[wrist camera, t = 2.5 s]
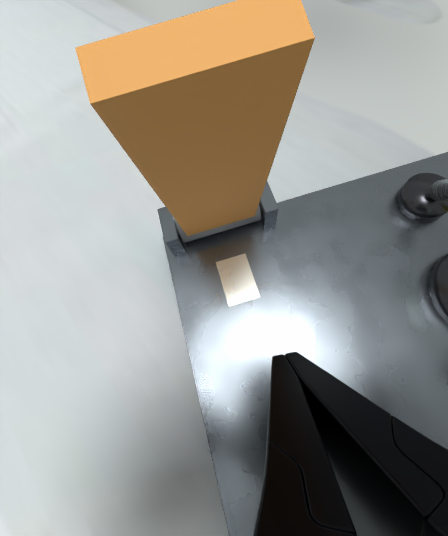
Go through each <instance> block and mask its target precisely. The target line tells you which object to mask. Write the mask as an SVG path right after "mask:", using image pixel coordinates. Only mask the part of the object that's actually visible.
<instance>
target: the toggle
mask: <svg viewBox="0 0 448 536" xmlns="http://www.w3.org/2000/svg"><path fill="white" fill-rule="evenodd" d="M429 193H430V196H431V198H432V199H433V200H435V201H443V200H448V179H443V180H438V181H436V182H434V183H433V184H432V185H431V187H430V191H429Z"/></svg>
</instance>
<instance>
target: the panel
mask: <svg viewBox="0 0 448 536" xmlns="http://www.w3.org/2000/svg"><path fill="white" fill-rule="evenodd" d="M443 179H448V152H446V153H443V154H440V155H436V156H433V157H430V158H426V159H423V160H420V161H416V162H413V163H409V164H406V165H403V166H399V167H396V168H393V169H389V170H386V171H383V172H379V173H376V174H373V175H369V176H366V177H363V178H359V179H356V180H353V181H349V182H346V183H343V184H339V185H336V186H332V187H329V188H326V189H322V190H319V191H316V192H312V193H309V194H306V195H302V196H299V197H296V198H292V199H289V200H286V201H282V202H279V203H276V201H275V199H274V196H273V194H272V192H271V189H270V187H269V185H268V182H266V185H265V188H264V190H263V193H262V196H261V199H260V202H259V207H260V211H261V220H259V221H256V222H252V223H249V224H246V225H242V226H239V227H236V228H232V229H229V230H226V231H222V232H219V233H216V234H212V235H209V236H206V237H202V238H199V239H196V240H192V241H189V242H186V243H184V242H183V241H182V238H181V236H180V233H179V230H178V226H177V222H176V220H175V218H174V217H173V216H172V214H171V213H170V212H169V210H168V209H167V207H163V208H160V209H158V214H159V218H160V223H161V227H162V232H163V236H164V237H163V240H164V244H165V249H166V253H167V258H168V262H169V267H170V271H171V276H172V280H173V285H174V289H175V294H176V298H177V303H178V307H179V312H180V316H181V320H182V325H183V329H184V334H185V338H186V343H187V347H188V352H189V356H190V361H191V365H192V370H193V374H194V379H195V383H196V388H197V392H198V397H199V401H200V406H201V410H202V415H203V419H204V424H205V428H206V433H207V437H208V442H209V446H210V451H211V455H212V460H213V464H214V469H215V473H216V478H217V482H218V487H219V491H220V496H221V500H222V505H223V509H224V514H225V518H226V523H227V527H228V532H229V536H253V532H254V527H255V522H256V517H257V512H258V506H259V501H260V496H261V490H262V484H263V478H264V469H265V459H266V444H267V430H268V414H269V397H270V381H271V364H272V356H275V355H280V354H283V355H285V354H286V353H290V352H298V353H299V354H301V355H302V356H304V357H305V358H307V359H308V360H310V361H311V362H313V363H314V364H316V365H318V366H319V367H321V368H322V369H324V370H325V371H327V372H328V373H330V374H331V375H333V376H334V377H336V378H337V379H339V380H340V381H342V382H343V383H345V384H346V385H348V386H349V387H351V388H352V389H354V390H355V391H357V392H358V393H360V394H361V395H363V396H364V397H366V398H367V399H369V400H370V401H372V402H373V403H375V404H376V405H378V406H380V407H381V408H383V409H384V410H386V411H387V412H389V413H390V414H391V416H395V417H396V418H398V419H399V420H401V421H402V422H404V423H405V424H407V425H408V426H410V427H412V428H413V429H415V430H416V431H418V432H420V433H421V434H423V435H424V436H426V437H427V438H429V439H431V440H432V441H434V442H436V443H438V444H439V445H441V446H443V447H444V448H446V449H448V200H443V201H435V200H433V199H432V198H431V196H430V193H429V191H430V187H431V185H432V184H433V183H434V182H436V181H438V180H443Z"/></svg>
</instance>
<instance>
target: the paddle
mask: <svg viewBox="0 0 448 536" xmlns="http://www.w3.org/2000/svg"><path fill="white" fill-rule="evenodd" d="M314 39H315V37H314V34H313V32H312V29H311V26H310V23H309V21H308V18H307V16H306V13H305V10H304V7H303V5H302V2H301V0H237V1H234V2H231V3H227V4H224V5H220V6H217V7H213V8H210V9H207V10H203V11H200V12H197V13H193V14H190V15H186V16H183V17H179V18H176V19H173V20H169V21H165V22H162V23H158V24H155V25H152V26H148V27H145V28H141V29H138V30H134V31H131V32H128V33H124V34H121V35H117V36H114V37H110V38H107V39H104V40H100V41H97V42H93V43H90V44H86V45H83V46H80V47H76V52H77V56H78V59H79V63H80V67H81V71H82V74H83V78H84V82H85V86H86V89H87V93H88V97H89V101H90V104H91V105H92V107H93V108H94V109H95V111H96V112H97V113H98V115H99V116H100V118H101V119H102V120H103V122H104V123H105V124H106V126H107V127H108V128H109V130H110V131H111V133H112V134H113V135H114V137H115V138H116V139H117V141H118V142H119V143H120V145H121V146H122V148H123V149H124V150H125V152H126V153H127V154H128V156H129V157H130V158H131V160H132V161H133V163H134V164H135V165H136V167H137V168H138V169H139V171H140V172H141V173H142V175H143V176H144V178H145V179H146V180H147V182H148V183H149V184H150V186H151V187H152V188H153V190H154V191H155V192H156V194H157V195H158V197H159V198H160V199H161V201H162V202H163V203H164V205H165V206H166V207H167V209H168V210H169V212H170V213H171V214H172V216H173V217H174V218H175V220H176V222H177V226H178V230H179V233H180V236H181V238H182V241H183V242H184V243H186V242H189V241H192V240H196V239H199V238H202V237H206V236H209V235H212V234H216V233H219V232H222V231H226V230H229V229H232V228H236V227H239V226H242V225H246V224H249V223H252V222H256V221H259V220H261V211H260V207H259V202H260V199H261V196H262V193H263V190H264V188H265V185H266V182H267V179H268V176H269V173H270V170H271V167H272V164H273V161H274V158H275V155H276V152H277V149H278V146H279V143H280V140H281V137H282V134H283V131H284V128H285V125H286V122H287V119H288V116H289V113H290V110H291V107H292V104H293V101H294V98H295V95H296V92H297V89H298V86H299V83H300V80H301V77H302V74H303V71H304V68H305V65H306V62H307V59H308V56H309V53H310V50H311V47H312V44H313V41H314Z"/></svg>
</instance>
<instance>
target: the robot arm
mask: <svg viewBox="0 0 448 536" xmlns="http://www.w3.org/2000/svg"><path fill="white" fill-rule="evenodd" d="M253 536H448V449H446V448H444V447H443V446H441V445H439V444H438V443H436V442H434V441H432V440H431V439H429V438H427V437H426V436H424V435H423V434H421V433H420V432H418V431H416V430H415V429H413V428H412V427H410V426H408V425H407V424H405V423H404V422H402V421H401V420H399V419H398V418H396V417H395V416H391V414H390V413H389V412H387V411H386V410H384V409H383V408H381V407H380V406H378V405H376V404H375V403H373V402H372V401H370V400H369V399H367V398H366V397H364V396H363V395H361V394H360V393H358V392H357V391H355V390H354V389H352V388H351V387H349V386H348V385H346V384H345V383H343V382H342V381H340V380H339V379H337V378H336V377H334V376H333V375H331V374H330V373H328V372H327V371H325V370H324V369H322V368H321V367H319V366H318V365H316V364H314V363H313V362H311V361H310V360H308V359H307V358H305V357H304V356H302V355H301V354H299V353H298V352H290V353H286V354H285V355H283V354H280V355H275V356H272V364H271V381H270V397H269V414H268V430H267V444H266V459H265V469H264V478H263V484H262V490H261V496H260V501H259V506H258V512H257V517H256V522H255V527H254V532H253Z"/></svg>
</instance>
